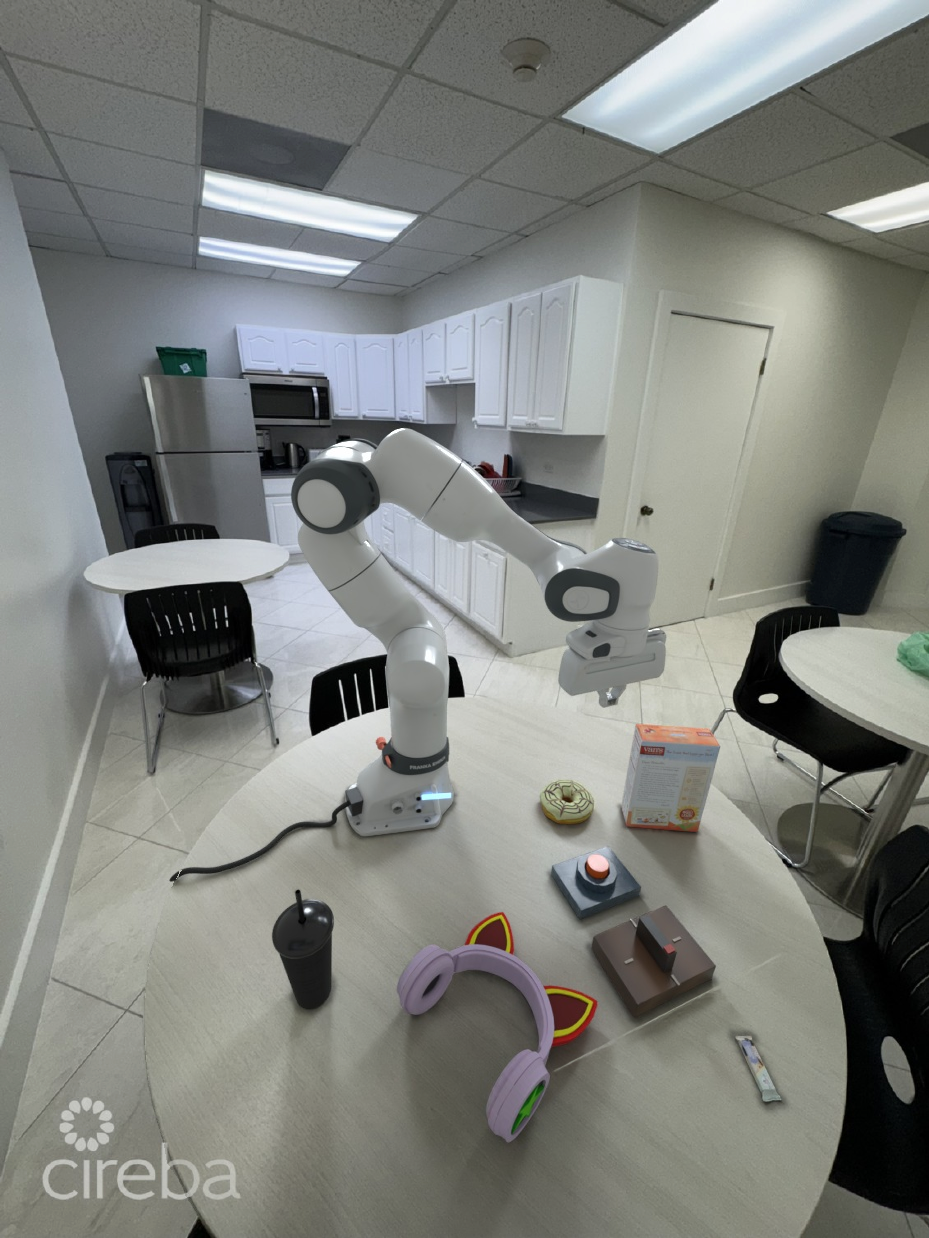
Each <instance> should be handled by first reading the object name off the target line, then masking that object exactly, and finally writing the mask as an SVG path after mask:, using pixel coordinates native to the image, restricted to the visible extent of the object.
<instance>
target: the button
mask: <svg viewBox="0 0 929 1238" xmlns="http://www.w3.org/2000/svg"><path fill="white" fill-rule="evenodd" d="M608 869H609V863H608V861H607V859H606V858H605V857H603V856H602V855H599V854H592V855H590V856H589V857H588V859H587V865H586V870H587V872H588V873H589V875H590V876H592V877H593V878H596V879H603V878H605V877H606V876H607V874H608Z"/></svg>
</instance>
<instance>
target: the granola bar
mask: <svg viewBox="0 0 929 1238" xmlns="http://www.w3.org/2000/svg"><path fill="white" fill-rule="evenodd" d="M734 1037H735V1040H736V1042H737V1043H738V1045H739V1047H740V1049H741V1052H742V1054H743V1056H744V1058H745V1061H746V1062H747V1065H748V1067H749V1069H750V1071H751V1074H752V1076H753V1078H754V1080H755V1082H756V1085H757V1087H758V1090H759V1091H760V1093H761V1094H762V1095H761V1096H762V1097H761V1099H762V1101H763V1102H772V1101H782V1098H781V1095H779V1093H778V1091H777V1090H776V1089H777V1088H776V1087H775V1085H774V1082H773V1081H772V1079H771V1077H770V1074H769V1072H768V1070H767V1067H766V1066H765V1064H764V1062H763V1060H762V1058H761V1055H760V1053H759V1052H758V1050H757V1047H756V1045H755V1043H754V1041H753V1037H752V1035H735V1036H734Z"/></svg>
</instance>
